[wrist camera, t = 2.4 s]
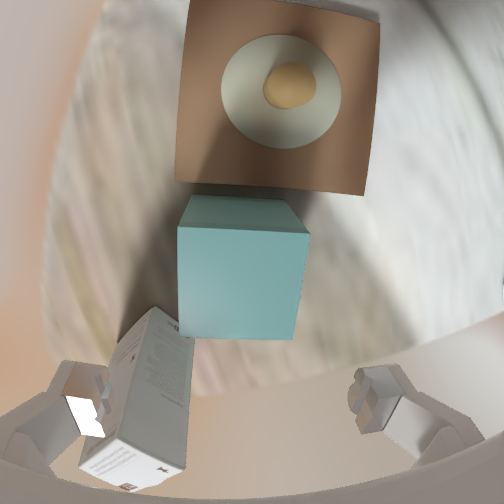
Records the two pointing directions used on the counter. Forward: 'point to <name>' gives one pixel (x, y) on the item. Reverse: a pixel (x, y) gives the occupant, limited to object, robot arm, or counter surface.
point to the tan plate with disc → (276, 96)
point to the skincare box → (145, 407)
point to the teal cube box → (239, 268)
